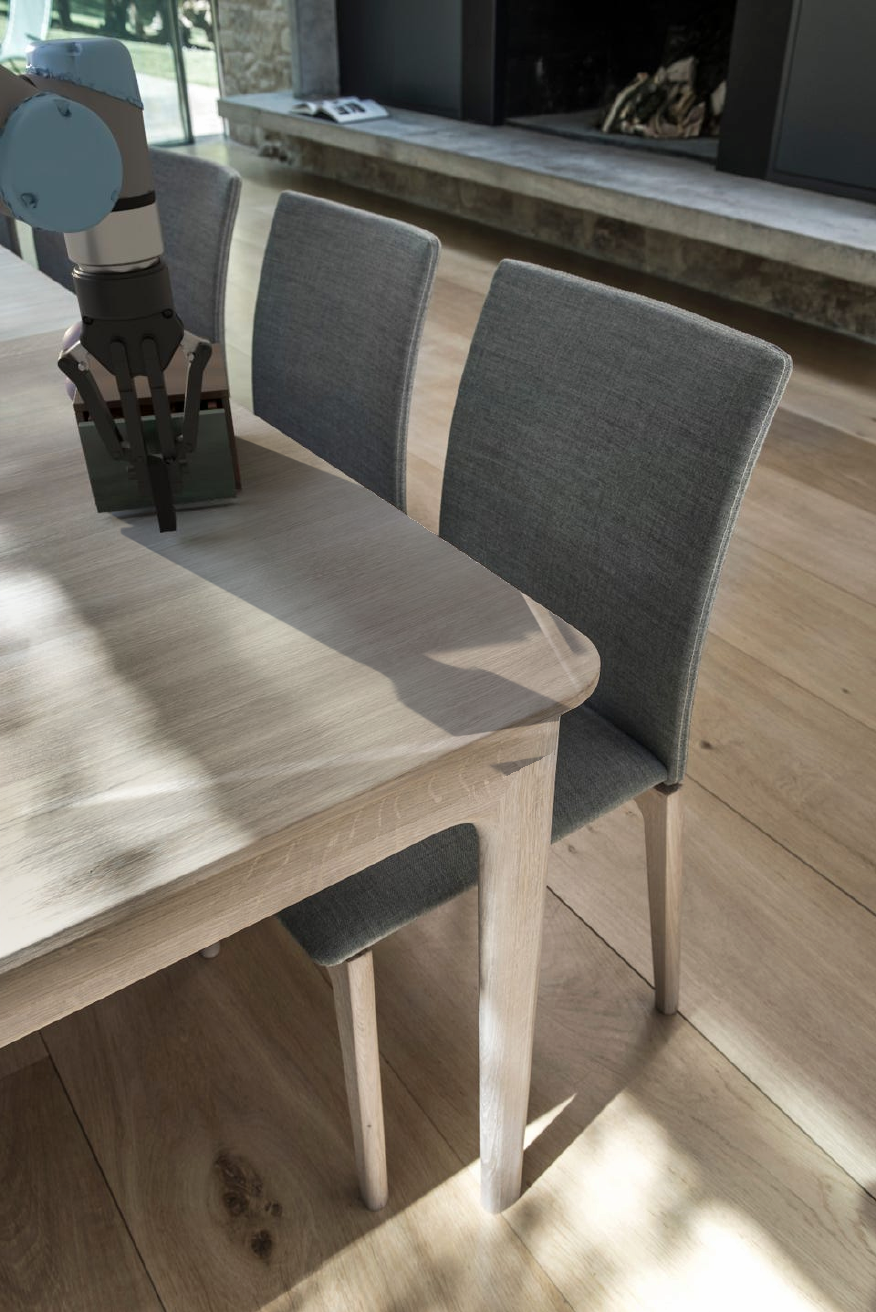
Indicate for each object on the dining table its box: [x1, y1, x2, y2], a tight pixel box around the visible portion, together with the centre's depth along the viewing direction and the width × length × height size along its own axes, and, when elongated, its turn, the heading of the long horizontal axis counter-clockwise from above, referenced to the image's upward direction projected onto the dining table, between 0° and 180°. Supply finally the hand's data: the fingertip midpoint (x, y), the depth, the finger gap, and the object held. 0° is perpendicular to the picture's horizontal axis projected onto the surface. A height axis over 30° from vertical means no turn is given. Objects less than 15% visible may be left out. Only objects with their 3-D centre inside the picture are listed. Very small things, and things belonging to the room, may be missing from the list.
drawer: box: [78, 398, 238, 514], centre depth 104 cm, size 19×13×9 cm
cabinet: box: [72, 342, 243, 507], centre depth 110 cm, size 16×15×11 cm
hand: (168, 525), depth 97 cm, fingers closed
